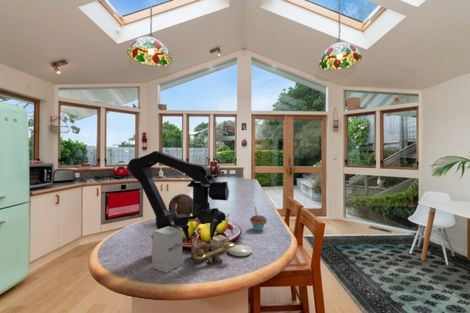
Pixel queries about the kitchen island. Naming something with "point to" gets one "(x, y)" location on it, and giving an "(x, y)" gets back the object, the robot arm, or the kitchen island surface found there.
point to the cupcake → (258, 221)
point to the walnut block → (199, 246)
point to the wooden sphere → (181, 204)
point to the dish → (240, 250)
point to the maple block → (218, 242)
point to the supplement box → (167, 248)
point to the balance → (213, 253)
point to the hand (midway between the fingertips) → (199, 240)
